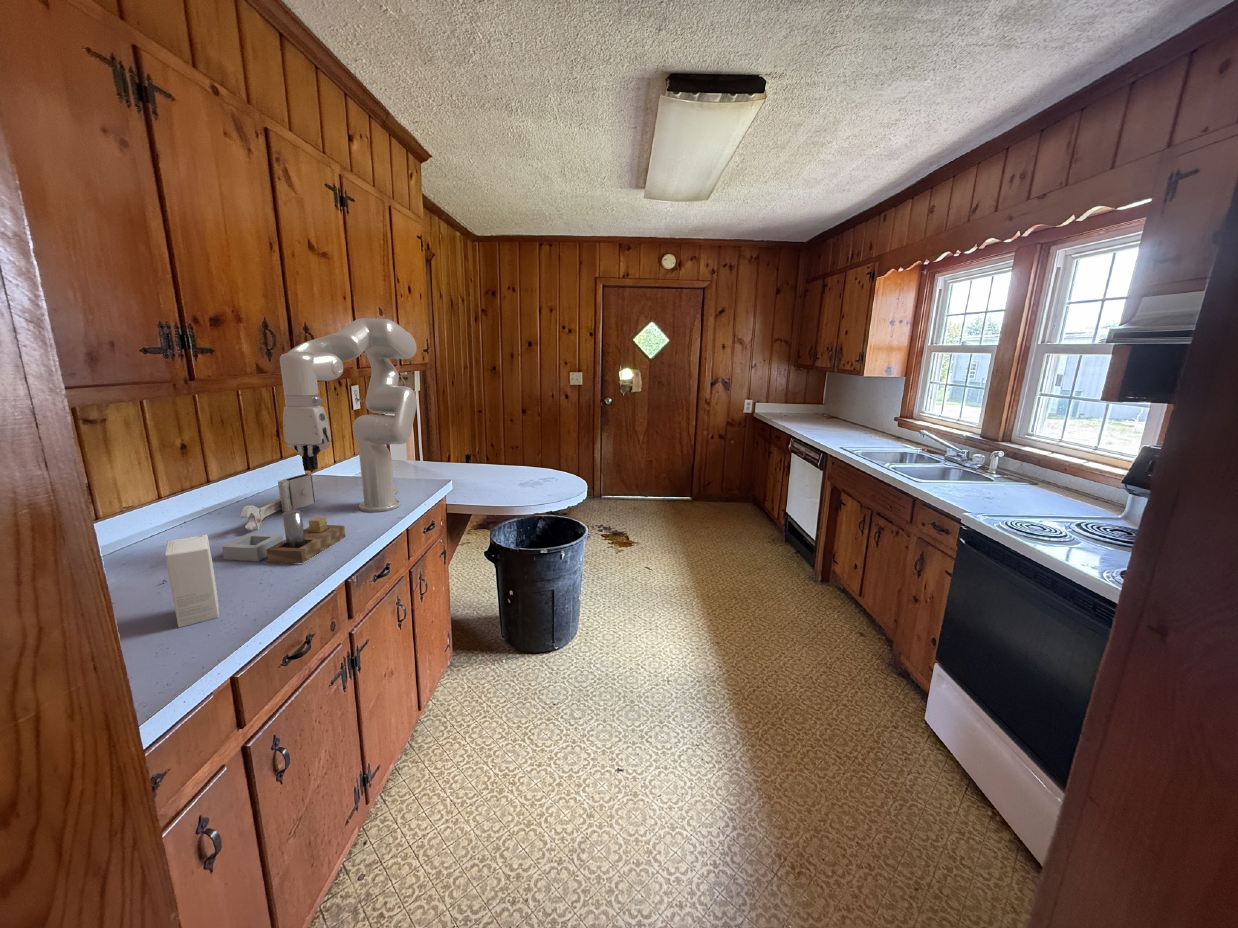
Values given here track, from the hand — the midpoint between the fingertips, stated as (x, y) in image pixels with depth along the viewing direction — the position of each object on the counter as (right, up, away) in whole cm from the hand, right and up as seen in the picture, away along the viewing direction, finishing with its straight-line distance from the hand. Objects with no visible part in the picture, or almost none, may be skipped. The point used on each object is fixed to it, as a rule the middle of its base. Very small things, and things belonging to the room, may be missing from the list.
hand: (311, 469), depth 130 cm
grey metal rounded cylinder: (-1, -23, -4) cm, 23 cm away
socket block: (-1, -21, +1) cm, 22 cm away
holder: (-13, -22, -3) cm, 26 cm away
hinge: (-25, -13, +32) cm, 43 cm away
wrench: (-27, -16, +21) cm, 38 cm away
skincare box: (-3, -29, -31) cm, 43 cm away
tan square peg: (-1, -19, +5) cm, 19 cm away
